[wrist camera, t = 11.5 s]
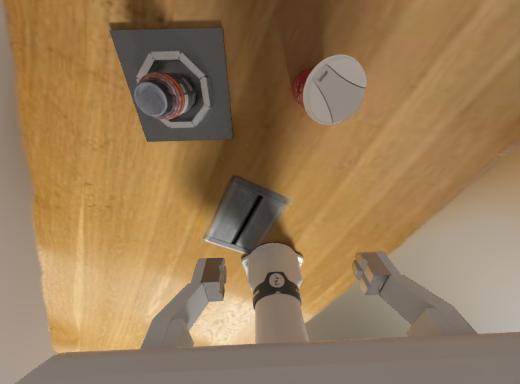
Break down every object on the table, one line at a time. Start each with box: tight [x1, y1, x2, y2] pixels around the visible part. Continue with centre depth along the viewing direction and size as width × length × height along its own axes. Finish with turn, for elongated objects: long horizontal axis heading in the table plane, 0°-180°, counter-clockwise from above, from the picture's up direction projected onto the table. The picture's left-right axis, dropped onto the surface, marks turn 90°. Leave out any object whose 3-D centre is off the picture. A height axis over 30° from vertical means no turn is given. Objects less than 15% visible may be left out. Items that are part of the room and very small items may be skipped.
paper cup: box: [293, 55, 367, 125], centre depth 28 cm, size 8×8×14 cm
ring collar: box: [110, 28, 233, 142], centre depth 32 cm, size 17×17×4 cm
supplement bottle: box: [134, 72, 196, 120], centre depth 28 cm, size 6×6×11 cm
